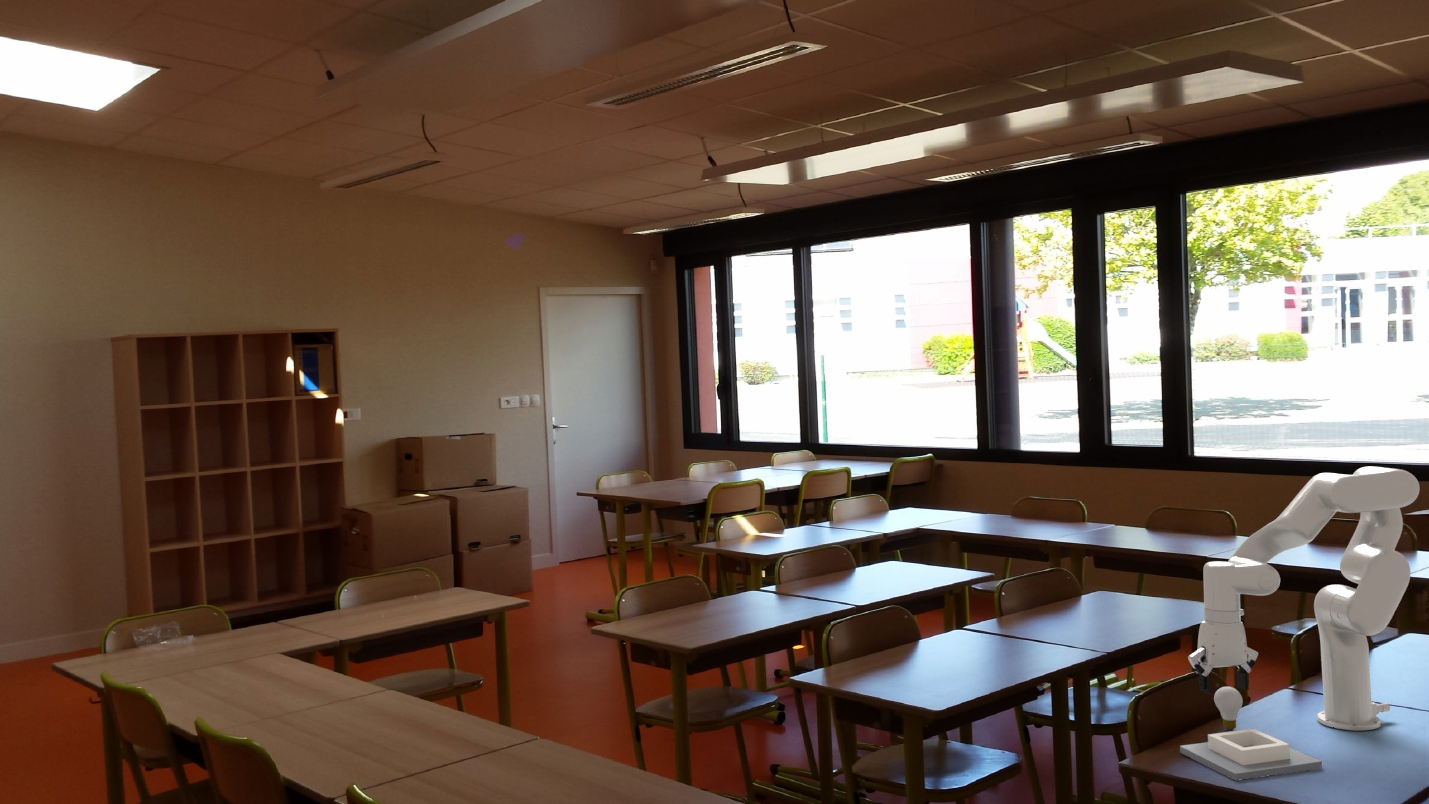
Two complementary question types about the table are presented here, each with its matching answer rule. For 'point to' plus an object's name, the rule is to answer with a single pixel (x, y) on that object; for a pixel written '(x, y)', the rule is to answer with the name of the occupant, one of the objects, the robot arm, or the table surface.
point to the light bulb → (1228, 705)
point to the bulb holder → (1249, 755)
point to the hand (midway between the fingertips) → (1224, 690)
